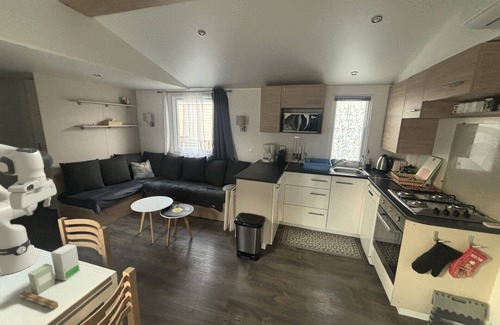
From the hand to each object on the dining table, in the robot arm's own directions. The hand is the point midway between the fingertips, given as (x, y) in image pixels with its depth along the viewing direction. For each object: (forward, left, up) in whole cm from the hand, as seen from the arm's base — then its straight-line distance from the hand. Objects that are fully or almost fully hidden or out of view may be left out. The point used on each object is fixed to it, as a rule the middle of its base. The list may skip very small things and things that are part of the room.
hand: (38, 210), depth 97 cm
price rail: (+9, -11, -39) cm, 42 cm away
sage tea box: (+2, -5, -39) cm, 40 cm away
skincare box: (+3, +5, -40) cm, 40 cm away
